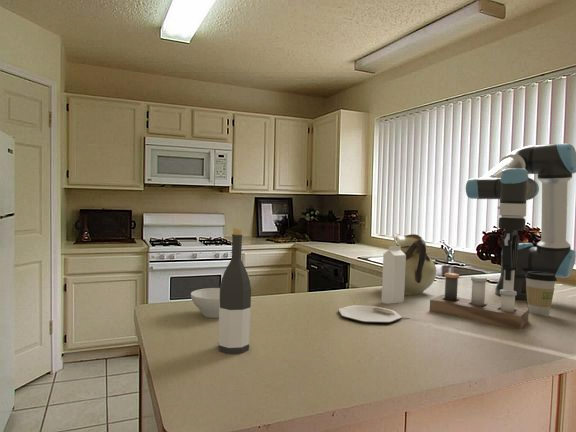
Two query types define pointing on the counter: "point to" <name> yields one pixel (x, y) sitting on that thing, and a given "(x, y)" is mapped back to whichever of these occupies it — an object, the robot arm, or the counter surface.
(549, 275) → the coffee cup
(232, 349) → the wine bottle
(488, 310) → the mount
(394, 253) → the milk
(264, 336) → the counter surface
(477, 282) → the knob mid
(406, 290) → the pitcher
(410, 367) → the counter surface
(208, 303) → the bowl
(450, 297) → the pot knob
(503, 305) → the knob left
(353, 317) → the plate
